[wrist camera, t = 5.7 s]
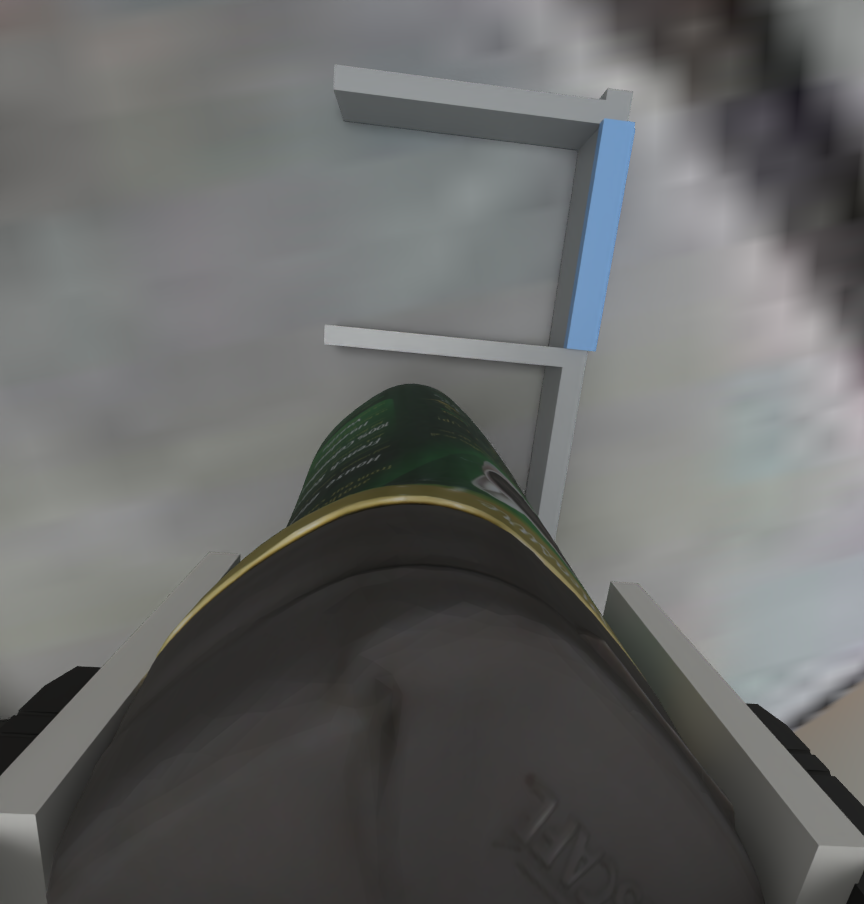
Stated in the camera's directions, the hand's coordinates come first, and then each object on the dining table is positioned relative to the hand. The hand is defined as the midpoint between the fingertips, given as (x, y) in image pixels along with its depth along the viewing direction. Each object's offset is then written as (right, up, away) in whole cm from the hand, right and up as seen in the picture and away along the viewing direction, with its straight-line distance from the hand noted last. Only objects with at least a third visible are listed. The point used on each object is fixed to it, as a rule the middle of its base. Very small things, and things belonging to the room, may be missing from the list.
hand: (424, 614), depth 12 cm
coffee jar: (0, +3, +11) cm, 11 cm away
